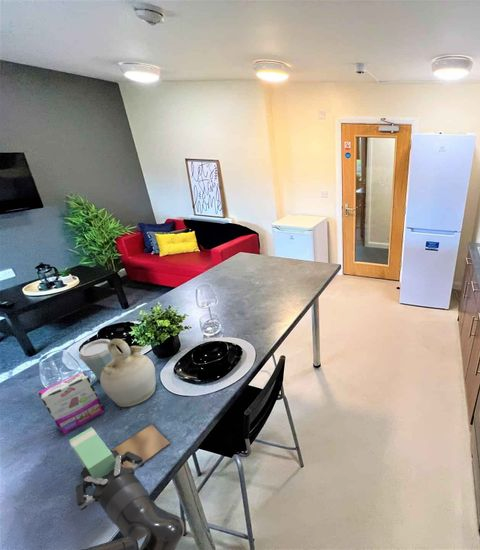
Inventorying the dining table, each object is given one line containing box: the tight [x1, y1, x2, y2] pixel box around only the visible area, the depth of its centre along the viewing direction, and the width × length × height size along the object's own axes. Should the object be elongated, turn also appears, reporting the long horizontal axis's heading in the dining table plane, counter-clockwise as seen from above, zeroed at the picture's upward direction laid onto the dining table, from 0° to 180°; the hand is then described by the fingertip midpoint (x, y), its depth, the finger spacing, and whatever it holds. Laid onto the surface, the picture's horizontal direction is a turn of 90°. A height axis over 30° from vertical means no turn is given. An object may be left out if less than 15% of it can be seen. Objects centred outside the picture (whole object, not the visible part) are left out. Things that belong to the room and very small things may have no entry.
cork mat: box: [111, 424, 171, 468], centre depth 90 cm, size 12×12×1 cm
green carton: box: [68, 426, 115, 478], centre depth 80 cm, size 5×14×10 cm, turn 58°
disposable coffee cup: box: [78, 338, 115, 381], centre depth 113 cm, size 11×11×15 cm
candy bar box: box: [37, 370, 106, 436], centre depth 95 cm, size 11×5×16 cm, turn 147°
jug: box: [99, 338, 157, 408], centre depth 104 cm, size 15×16×25 cm
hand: (98, 461), depth 79 cm, fingers closed on green carton, 5 cm apart
